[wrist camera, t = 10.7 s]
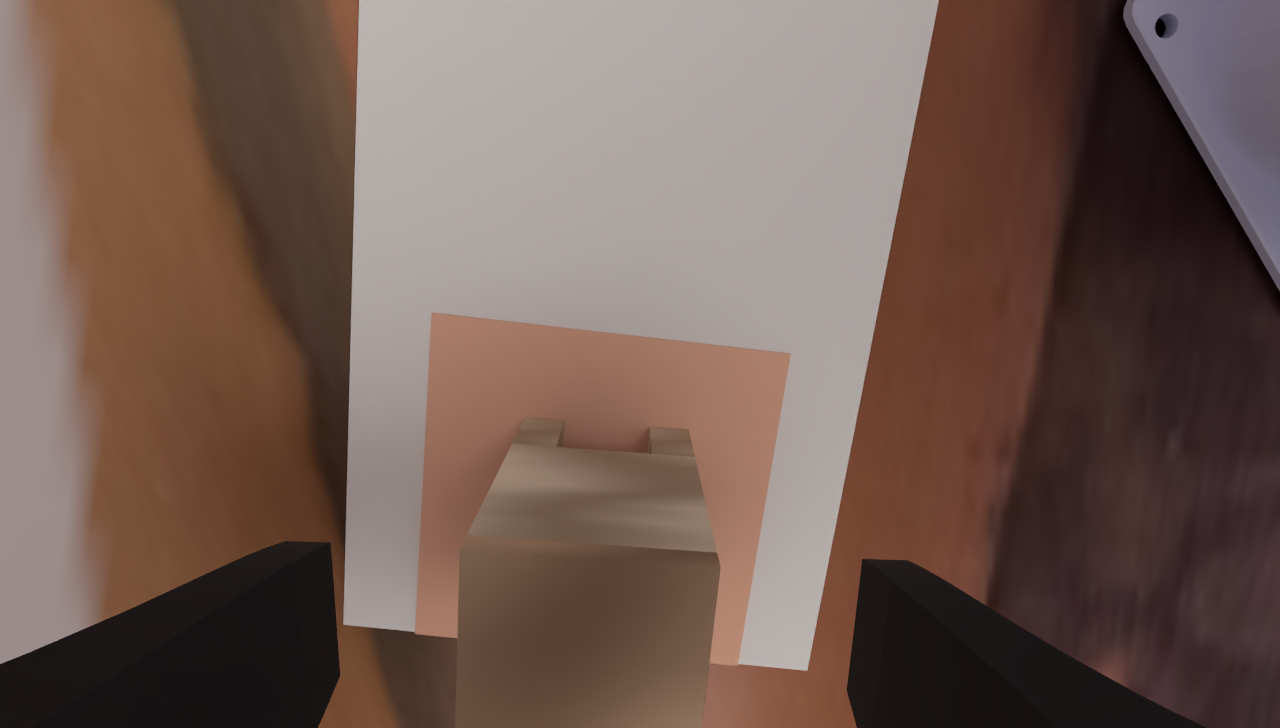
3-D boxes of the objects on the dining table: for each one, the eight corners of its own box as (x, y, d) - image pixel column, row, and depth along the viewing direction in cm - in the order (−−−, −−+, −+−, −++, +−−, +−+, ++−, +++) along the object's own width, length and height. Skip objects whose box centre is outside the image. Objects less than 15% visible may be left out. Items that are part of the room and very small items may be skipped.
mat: (375, -364, 15) (367, -382, 14) (985, -274, 15) (997, -290, 15) (348, 616, 20) (341, 626, 20) (803, 661, 20) (807, 672, 20)
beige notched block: (688, 429, 18) (720, 567, 11) (673, 576, 19) (694, 784, 12) (525, 417, 18) (459, 549, 11) (518, 565, 19) (453, 769, 12)
